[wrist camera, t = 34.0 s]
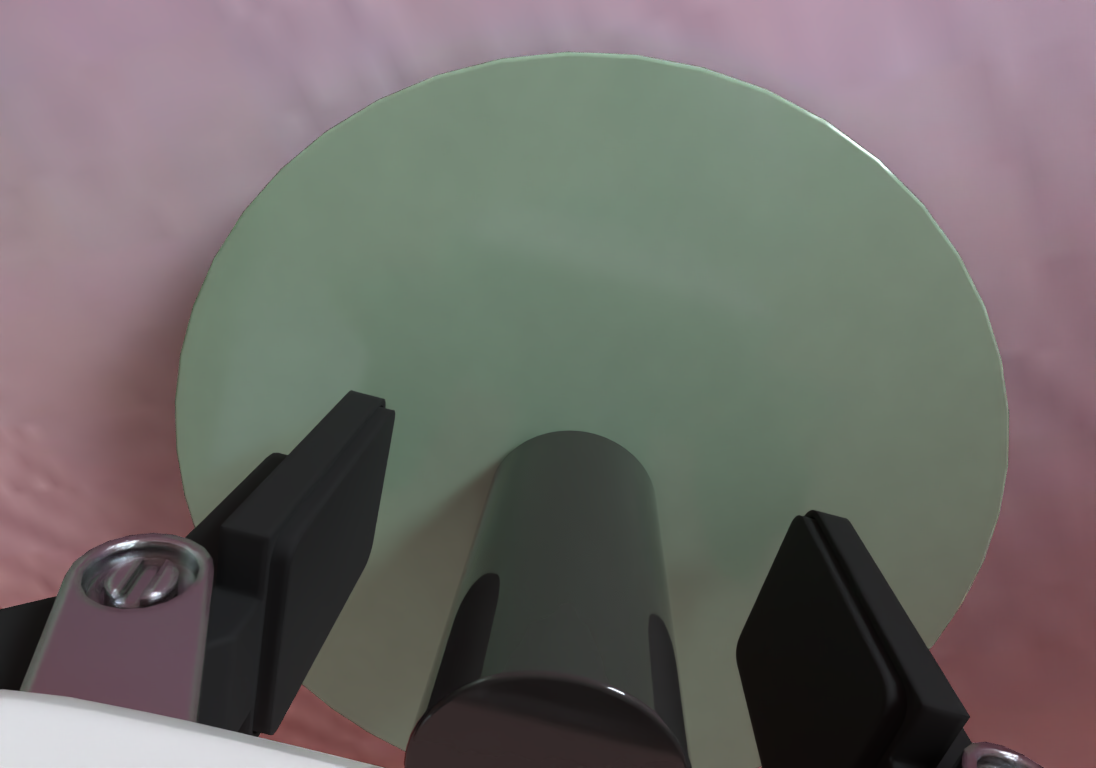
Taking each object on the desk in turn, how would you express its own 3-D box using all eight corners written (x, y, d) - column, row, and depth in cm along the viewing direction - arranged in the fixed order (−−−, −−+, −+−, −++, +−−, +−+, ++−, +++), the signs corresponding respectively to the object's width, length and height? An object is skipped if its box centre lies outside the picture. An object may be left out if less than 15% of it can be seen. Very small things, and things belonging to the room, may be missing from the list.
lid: (125, 570, 15) (-220, 891, 9) (385, -140, 10) (-4, -608, 4) (685, 834, 16) (733, 1266, 10) (1164, 344, 11) (1845, 615, 5)
